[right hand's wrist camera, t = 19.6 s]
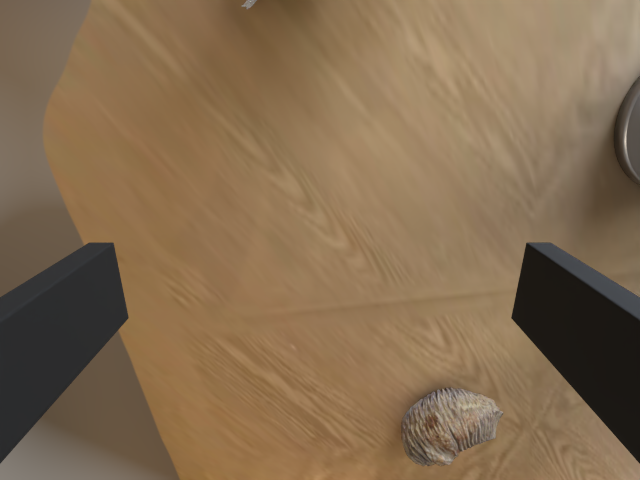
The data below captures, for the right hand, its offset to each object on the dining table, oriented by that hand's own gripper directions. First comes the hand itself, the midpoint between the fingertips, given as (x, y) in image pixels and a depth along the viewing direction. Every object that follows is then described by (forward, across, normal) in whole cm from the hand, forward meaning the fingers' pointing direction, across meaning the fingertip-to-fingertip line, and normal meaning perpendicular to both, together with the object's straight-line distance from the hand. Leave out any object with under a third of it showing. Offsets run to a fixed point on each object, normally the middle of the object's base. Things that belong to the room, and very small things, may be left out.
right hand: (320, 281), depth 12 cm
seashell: (+30, +17, -35) cm, 49 cm away
